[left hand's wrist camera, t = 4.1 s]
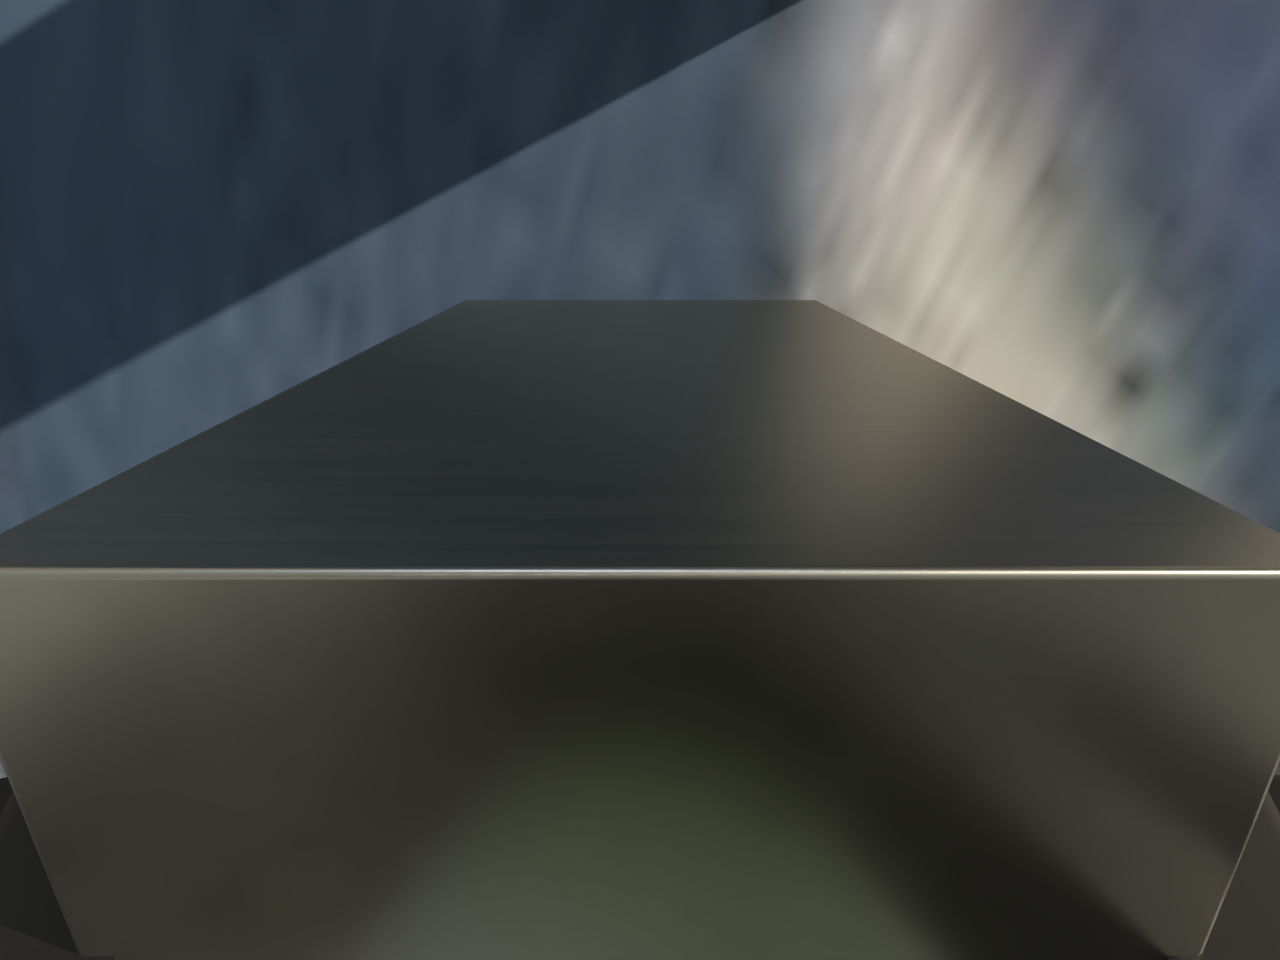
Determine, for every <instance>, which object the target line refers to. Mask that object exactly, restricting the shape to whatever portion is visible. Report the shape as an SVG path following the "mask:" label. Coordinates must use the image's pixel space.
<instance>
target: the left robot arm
mask: <svg viewBox="0 0 1280 960" xmlns="http://www.w3.org/2000/svg"><path fill="white" fill-rule="evenodd" d="M0 960H114V957H113V956H82V955H80V954H79V953H78V950H77V948H76V945H75V943H74V940H73V938H72V935H71V933H70V930H69V928H68V925H67V923H66V920H65V918H64V915H63V913H62V911H61V908H60V906H59V903H58V901H57V898H56V896H55V893H54V891H53V888H52V886H51V883H50V881H49V878H48V876H47V873H46V871H45V868H44V866H43V863H42V861H41V859H40V856H39V854H38V851H37V849H36V846H35V844H34V841H33V839H32V836H31V834H30V831H29V829H28V826H27V824H26V821H25V819H24V816H23V814H22V811H21V809H20V807H19V804H18V802H17V799H16V797H15V794H14V792H13V789H12V787H11V784H10V782H9V779H8V777H6V778H2V779H0ZM1166 960H1280V775H1274V777H1273V780H1272V782H1271V784H1270V787H1269V789H1268V792H1267V794H1266V797H1265V799H1264V802H1263V804H1262V807H1261V809H1260V812H1259V814H1258V817H1257V819H1256V822H1255V824H1254V826H1253V829H1252V831H1251V834H1250V836H1249V839H1248V841H1247V844H1246V846H1245V849H1244V851H1243V854H1242V856H1241V859H1240V861H1239V864H1238V866H1237V869H1236V871H1235V873H1234V876H1233V878H1232V881H1231V883H1230V886H1229V888H1228V891H1227V893H1226V896H1225V898H1224V901H1223V903H1222V906H1221V908H1220V911H1219V913H1218V915H1217V918H1216V920H1215V923H1214V925H1213V928H1212V930H1211V933H1210V935H1209V938H1208V940H1207V943H1206V945H1205V948H1204V950H1203V953H1202V954H1200V955H1198V956H1167V958H1166Z"/></svg>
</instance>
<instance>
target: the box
mask: <svg viewBox="0 0 1280 960" xmlns="http://www.w3.org/2000/svg"><path fill="white" fill-rule="evenodd" d="M0 759H1V762H2V764H3V767H4V769H5V772H6V774H7V777H8V779H9V782H10V784H11V787H12V789H13V792H14V794H15V797H16V799H17V802H18V804H19V807H20V809H21V811H22V814H23V816H24V819H25V821H26V824H27V826H28V829H29V831H30V834H31V836H32V839H33V841H34V844H35V846H36V849H37V851H38V854H39V856H40V859H41V861H42V863H43V866H44V868H45V871H46V873H47V876H48V878H49V881H50V883H51V886H52V888H53V891H54V893H55V896H56V898H57V901H58V903H59V906H60V908H61V911H62V913H63V915H64V918H65V920H66V923H67V925H68V928H69V930H70V933H71V935H72V938H73V940H74V943H75V945H76V948H77V950H78V953H79V954H80V955H82V956H113V957H114V960H1166V958H1167V956H1198V955H1200V954H1202V953H1203V950H1204V948H1205V945H1206V943H1207V940H1208V938H1209V935H1210V933H1211V930H1212V928H1213V925H1214V923H1215V920H1216V918H1217V915H1218V913H1219V911H1220V908H1221V906H1222V903H1223V901H1224V898H1225V896H1226V893H1227V891H1228V888H1229V886H1230V883H1231V881H1232V878H1233V876H1234V873H1235V871H1236V869H1237V866H1238V864H1239V861H1240V859H1241V856H1242V854H1243V851H1244V849H1245V846H1246V844H1247V841H1248V839H1249V836H1250V834H1251V831H1252V829H1253V826H1254V824H1255V822H1256V819H1257V817H1258V814H1259V812H1260V809H1261V807H1262V804H1263V802H1264V799H1265V797H1266V794H1267V792H1268V789H1269V787H1270V784H1271V782H1272V780H1273V777H1274V775H1275V772H1276V770H1277V767H1278V765H1279V762H1280V534H1279V533H1278V532H1276V531H1274V530H1272V529H1270V528H1268V527H1266V526H1264V525H1262V524H1260V523H1258V522H1256V521H1254V520H1252V519H1250V518H1248V517H1246V516H1244V515H1242V514H1240V513H1238V512H1236V511H1234V510H1232V509H1230V508H1228V507H1226V506H1224V505H1222V504H1220V503H1218V502H1216V501H1214V500H1212V499H1210V498H1208V497H1206V496H1204V495H1202V494H1200V493H1198V492H1196V491H1194V490H1192V489H1190V488H1188V487H1186V486H1184V485H1182V484H1180V483H1178V482H1176V481H1174V480H1172V479H1170V478H1168V477H1166V476H1164V475H1162V474H1160V473H1158V472H1156V471H1154V470H1152V469H1150V468H1148V467H1146V466H1144V465H1142V464H1140V463H1138V462H1136V461H1134V460H1132V459H1130V458H1128V457H1126V456H1124V455H1122V454H1120V453H1118V452H1116V451H1114V450H1112V449H1110V448H1108V447H1106V446H1104V445H1102V444H1100V443H1098V442H1096V441H1094V440H1092V439H1090V438H1088V437H1086V436H1084V435H1082V434H1080V433H1078V432H1076V431H1074V430H1072V429H1070V428H1068V427H1066V426H1064V425H1062V424H1060V423H1058V422H1056V421H1054V420H1052V419H1050V418H1049V417H1047V416H1045V415H1043V414H1041V413H1039V412H1037V411H1035V410H1033V409H1031V408H1029V407H1027V406H1025V405H1023V404H1021V403H1019V402H1017V401H1015V400H1013V399H1011V398H1009V397H1007V396H1005V395H1003V394H1001V393H999V392H997V391H995V390H993V389H991V388H989V387H987V386H985V385H983V384H981V383H979V382H977V381H975V380H973V379H971V378H969V377H967V376H965V375H963V374H961V373H959V372H957V371H955V370H953V369H951V368H949V367H947V366H945V365H943V364H941V363H939V362H937V361H935V360H933V359H931V358H929V357H927V356H925V355H923V354H921V353H919V352H917V351H915V350H913V349H911V348H909V347H907V346H905V345H903V344H901V343H899V342H897V341H895V340H893V339H891V338H889V337H887V336H885V335H883V334H881V333H879V332H877V331H875V330H873V329H871V328H869V327H867V326H865V325H863V324H861V323H859V322H857V321H855V320H853V319H851V318H849V317H847V316H845V315H843V314H841V313H839V312H837V311H835V310H833V309H831V308H829V307H827V306H825V305H823V304H821V303H820V302H818V301H815V300H465V301H463V302H461V303H459V304H457V305H455V306H453V307H451V308H449V309H447V310H445V311H443V312H441V313H439V314H437V315H435V316H433V317H431V318H429V319H427V320H425V321H423V322H421V323H419V324H417V325H415V326H413V327H411V328H409V329H407V330H405V331H403V332H401V333H399V334H397V335H395V336H393V337H391V338H389V339H387V340H385V341H383V342H381V343H379V344H377V345H375V346H373V347H371V348H369V349H367V350H365V351H363V352H361V353H359V354H357V355H356V356H354V357H352V358H350V359H348V360H346V361H344V362H342V363H340V364H338V365H336V366H334V367H332V368H330V369H328V370H326V371H324V372H322V373H320V374H318V375H316V376H314V377H312V378H310V379H308V380H306V381H304V382H302V383H300V384H298V385H296V386H294V387H292V388H290V389H288V390H286V391H284V392H282V393H280V394H278V395H276V396H274V397H272V398H270V399H268V400H266V401H264V402H262V403H260V404H258V405H256V406H254V407H252V408H250V409H248V410H246V411H244V412H242V413H240V414H238V415H236V416H234V417H232V418H230V419H228V420H226V421H224V422H222V423H220V424H218V425H216V426H214V427H212V428H210V429H208V430H206V431H204V432H202V433H200V434H198V435H196V436H194V437H192V438H190V439H188V440H186V441H184V442H182V443H180V444H178V445H176V446H174V447H172V448H170V449H168V450H166V451H164V452H162V453H160V454H158V455H156V456H154V457H152V458H150V459H149V460H147V461H145V462H143V463H141V464H139V465H137V466H135V467H133V468H131V469H129V470H127V471H125V472H123V473H121V474H119V475H117V476H115V477H113V478H111V479H109V480H107V481H105V482H103V483H101V484H99V485H97V486H95V487H93V488H91V489H89V490H87V491H85V492H83V493H81V494H79V495H77V496H75V497H73V498H71V499H69V500H67V501H65V502H63V503H61V504H59V505H57V506H55V507H53V508H51V509H49V510H47V511H45V512H43V513H41V514H39V515H37V516H35V517H33V518H31V519H29V520H27V521H25V522H23V523H21V524H19V525H17V526H15V527H13V528H11V529H9V530H7V531H5V532H3V533H1V534H0Z"/></svg>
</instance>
